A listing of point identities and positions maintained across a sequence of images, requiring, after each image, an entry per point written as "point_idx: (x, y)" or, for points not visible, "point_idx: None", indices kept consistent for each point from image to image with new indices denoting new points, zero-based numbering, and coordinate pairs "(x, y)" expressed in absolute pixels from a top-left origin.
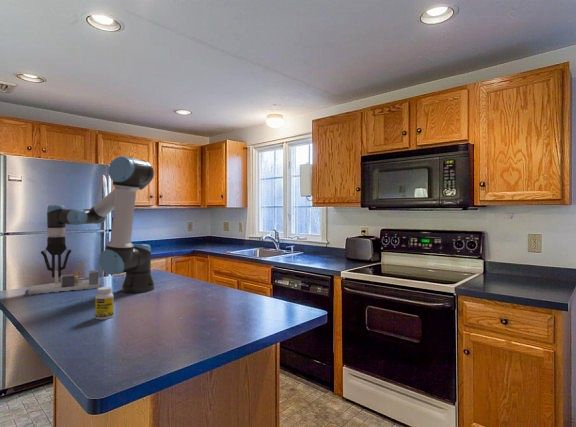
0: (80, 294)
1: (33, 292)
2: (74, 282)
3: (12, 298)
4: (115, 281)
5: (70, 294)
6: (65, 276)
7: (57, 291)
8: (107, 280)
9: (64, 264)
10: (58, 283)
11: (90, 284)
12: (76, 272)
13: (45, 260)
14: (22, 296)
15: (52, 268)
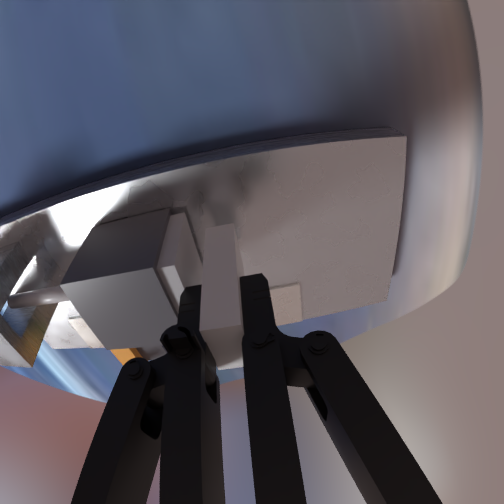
0: (19, 48)
1: (369, 133)
2: None
3: (454, 77)
4: None
5: (78, 51)
6: (125, 271)
7: (199, 155)
8: (59, 365)
9: (120, 415)
10: None
11: (13, 239)
12: None
13: (402, 459)
14: (416, 105)
15: (273, 359)
